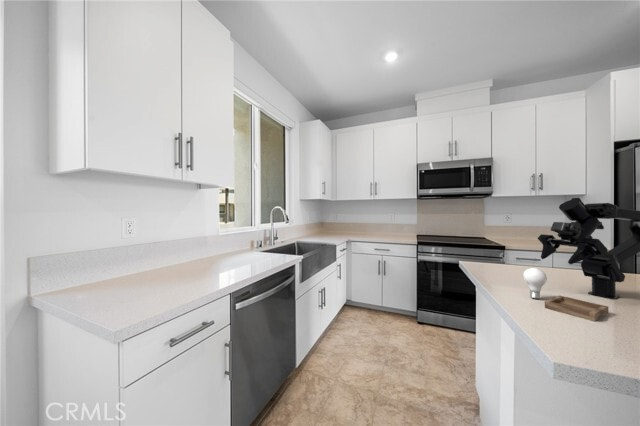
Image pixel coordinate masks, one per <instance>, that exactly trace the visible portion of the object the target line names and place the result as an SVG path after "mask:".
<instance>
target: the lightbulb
mask: <svg viewBox="0 0 640 426" xmlns="http://www.w3.org/2000/svg"><path fill="white" fill-rule="evenodd" d="M522 277H523V279H524V281H525V283H526V284H527V285H528V289H529V293H530V294H529V295H530V296H529V297H531V298H532V299H534V300H539V299H540V298H541V290H542V288H543V286H544V285H545V284H546V283H547V282H548V281H547V280H548V277H547V274H546V273H545V272H544V270H542V269H540V268H538V267H537V268H536V267H530V268H527V269H525V270H524V272H523V275H522Z"/></svg>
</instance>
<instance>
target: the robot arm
mask: <svg viewBox="0 0 640 426" xmlns="http://www.w3.org/2000/svg"><path fill="white" fill-rule="evenodd" d="M558 208H559V210H560V211H561V212H562V214H563V215H565V217H566V218H567V219H568V220H569V221H571V222H565V221H564V222H563V221H561V222H560V221H554V222H553V223H552V226H551V227H550V231H551V232H555V234H556V233H557V237H558V238H556V237H555V236H554V235H553V234H540V235H539V236H538V237H537V240H538V241H539V242H540V243H541V244H542V249H541V253H540V254H541V255H540V258H541V260H545V259H546V258H548V257H549V256H551V255H553V254H554V253H555V252H557V249H559V248H560V246H566V247H570V248H576V250H575V251H574V252H573V254H572V255H571V256H570V257H569V259H568V261H567V263H568V264H569V265H574V264H576V263H578V262H581V263H580V267H581V270H582V273H583V275H584V277H589V278H591V290H590V291H588V292H587V294H588V295H592V296H597V297H601V298H606V299H612V300H615V299H617V298H619V297H620V296H621V295H620V294H616V293H617V291H616V290H617V289H616V284H617V283H623V282H625V279H626V275H625V274H624V273H623V272H622V271H621V266H620V265H621V264H623V263H624V262H626V261H627V260H629V259H630V258H632V257H634V256H635V255H637V254H639V253H640V225H639V224H638V223H639V222H640V210H638V209H637V210H636V209H629V208H622V207H618V206H617V205H616V204H613V203H610V202H597V203H596V202H593V203H586V204H584V202H583V201H582V200H581V198H580V197H572V198H571V199H569V200H567V201H564V202H563V203H561V204H560V205H559V207H558ZM599 219H601V220H609V219H614V220H615V219H616V220H622V221H623V220H624V221H629V222H630V224H629V227H628V229H629V231H630V233H631V237H630V238H628V239H626V240H625V241H623V242H622V243H619V244H618V245H616V246H615V247H613V248H612V249H610V250H608V248H607V246H605V244H604V243H603V242H602V240H600V239H599V238H594V237H593V236H592V234H593V233H594V232H595V230H604V229H605V227H604V225H603V222H602V221H600V220H599Z"/></svg>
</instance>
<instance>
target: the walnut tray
mask: <svg viewBox="0 0 640 426" xmlns="http://www.w3.org/2000/svg"><path fill="white" fill-rule="evenodd" d="M544 309H546V310H547V309H548V310H551V311H556V312H558V313H561V314H566V315H568V316H572V317H576V318H577V317H578V318H581V319H584V320H588V321H592V322H596V321H598V320H600V319H602V318H604V317H606V316H607V315H609V311H610V310H609V306H608V305H603V304H600V303H599V304H598V303H595V302H590V301H586V300H582V299H581V300H580V299H576V298H572V297H566V296H564V295H563V296H562V295H557V296H555V297H552V298H550V299H546V300H544Z"/></svg>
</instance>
